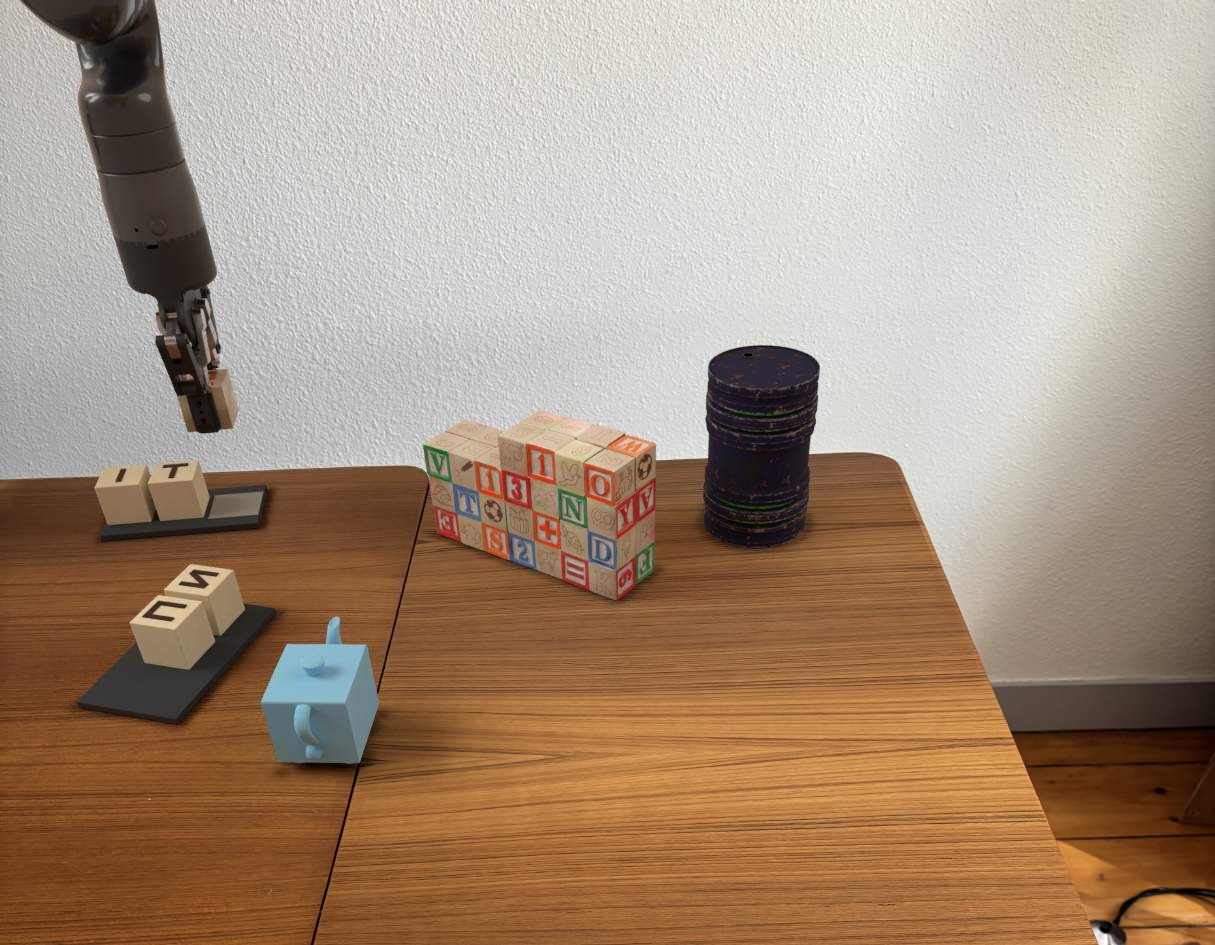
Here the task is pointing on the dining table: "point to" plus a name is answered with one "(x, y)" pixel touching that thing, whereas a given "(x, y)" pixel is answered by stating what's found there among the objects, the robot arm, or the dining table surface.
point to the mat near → (179, 647)
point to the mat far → (172, 502)
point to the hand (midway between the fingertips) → (213, 419)
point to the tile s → (215, 400)
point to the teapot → (321, 701)
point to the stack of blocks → (550, 497)
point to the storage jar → (759, 444)
